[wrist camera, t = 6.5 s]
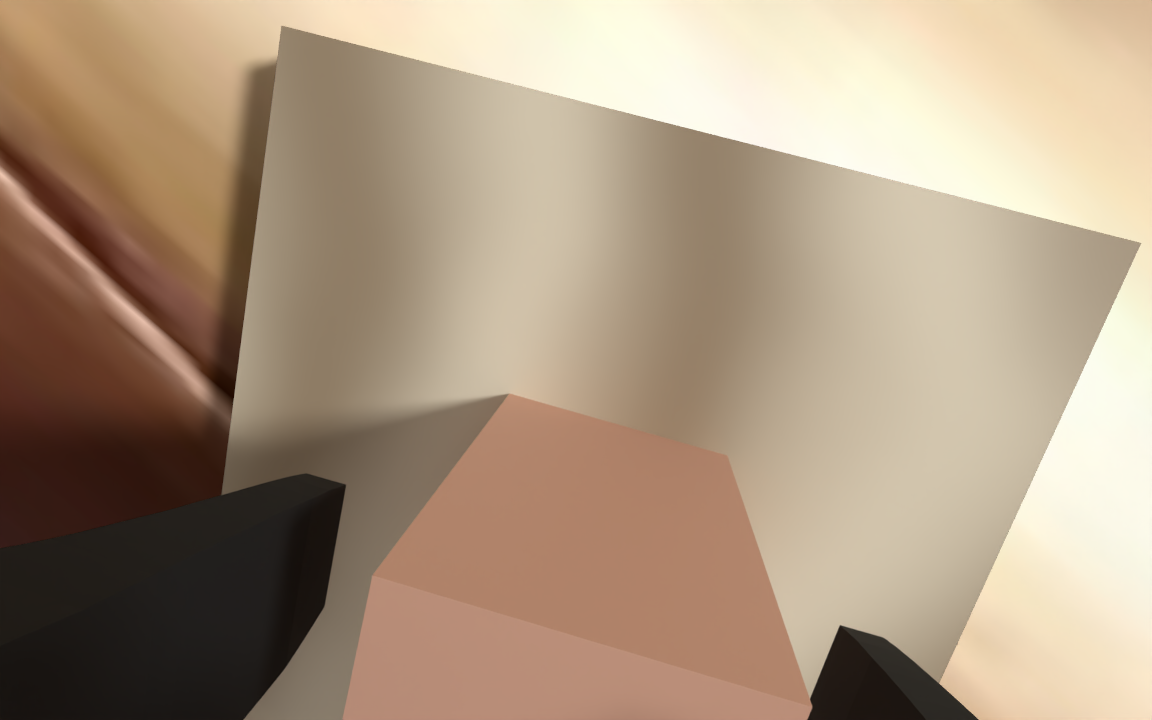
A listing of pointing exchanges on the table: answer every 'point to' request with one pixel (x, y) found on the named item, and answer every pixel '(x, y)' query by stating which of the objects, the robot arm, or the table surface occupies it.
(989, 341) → the board
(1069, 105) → the table surface
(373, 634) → the block
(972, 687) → the table surface
